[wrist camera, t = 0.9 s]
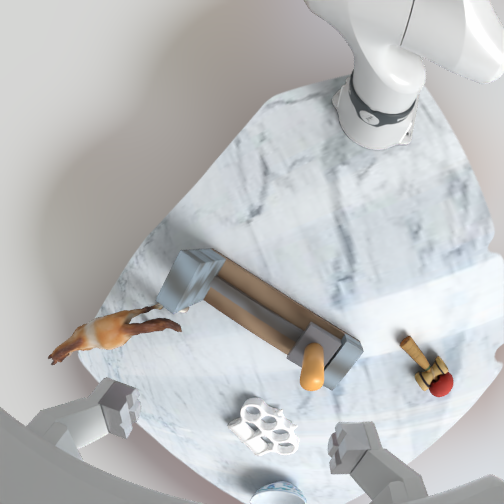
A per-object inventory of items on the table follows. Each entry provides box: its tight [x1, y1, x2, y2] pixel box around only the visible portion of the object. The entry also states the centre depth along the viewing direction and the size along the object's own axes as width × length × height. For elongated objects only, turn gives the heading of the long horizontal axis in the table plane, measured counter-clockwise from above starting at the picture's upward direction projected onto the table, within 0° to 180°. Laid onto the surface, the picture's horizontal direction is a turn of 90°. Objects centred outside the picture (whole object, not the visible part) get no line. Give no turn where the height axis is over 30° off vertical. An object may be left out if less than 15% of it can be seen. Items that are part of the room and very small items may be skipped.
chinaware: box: [250, 481, 307, 504], centre depth 53 cm, size 15×15×8 cm
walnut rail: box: [156, 249, 364, 390], centre depth 49 cm, size 11×36×15 cm, turn 59°
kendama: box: [400, 336, 453, 397], centre depth 47 cm, size 8×6×18 cm
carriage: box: [287, 322, 342, 391], centre depth 44 cm, size 8×7×14 cm
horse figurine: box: [48, 303, 182, 365], centre depth 54 cm, size 31×8×21 cm, turn 108°
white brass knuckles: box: [227, 398, 299, 456], centre depth 56 cm, size 3×18×15 cm
